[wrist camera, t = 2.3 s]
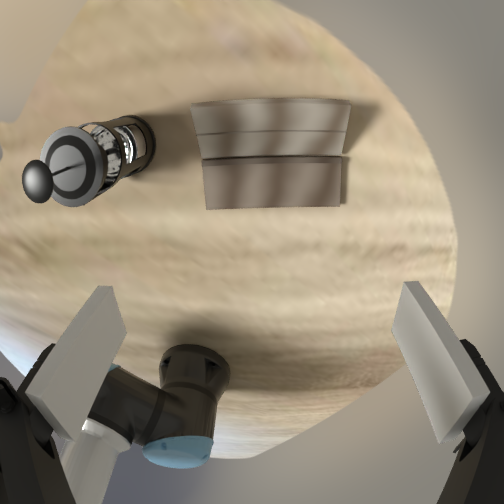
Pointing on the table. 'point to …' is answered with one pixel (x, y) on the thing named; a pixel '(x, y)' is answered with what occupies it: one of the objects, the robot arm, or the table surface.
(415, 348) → the robot arm
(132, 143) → the french press
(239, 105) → the plank
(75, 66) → the table surface
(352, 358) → the table surface
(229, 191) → the laid board
